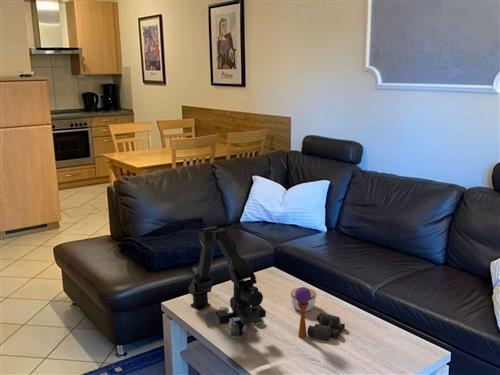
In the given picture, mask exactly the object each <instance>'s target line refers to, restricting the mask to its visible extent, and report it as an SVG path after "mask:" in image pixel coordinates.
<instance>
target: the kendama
mask: <svg viewBox="0 0 500 375" xmlns="http://www.w3.org/2000/svg"><path fill="white" fill-rule="evenodd" d="M297 288H298V289H297V290H296V292H295V297H296V300H297V301H298V302H297V303H298V306H299V308H300V310H301V311H300V317H299V319H300V320H299V321H300V322H299V328H298V335H297V336H298V338H299V339H306V338H308V335H307V325H306V316H305V312H306V311H305V309H306V308H307V306H308V304H309V303H308V301H309V300H310V298H311V292H310V290H309V289H310V288H309V289H307V288H308V287H305V286H300V287H297ZM304 311H305V312H304Z"/></svg>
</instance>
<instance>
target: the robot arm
mask: <svg viewBox="0 0 500 375" xmlns="http://www.w3.org/2000/svg"><path fill="white" fill-rule="evenodd" d="M198 240H199V242H200V243H201V251H200V257H199V264H198V270H197V273H196V274H195V275H194V276H193V277H192V281H191V283H190V285H189V286H188V293H189V294H190V295H191V296H192V303H191V304H190V306H191V307H192V308H194V309H197V310H199V311H201V310H202V309H205V308H208V307H210V306H211V303H210V302H209V297H208V293H211V292H212V289H213V283H214V281H213V279H212V278H211V276H210V272H211V268H212V262H213V256H214V249H215V248H216V246H217V245H218V248H219V250H220V251H221V253H222V254H223V256H224V258H225V260H226V261H227V262H226V263H228V272H229V275H230V277H231V280H230V281H231V283H233V296H232V300H233V307H232V310H233V312H232V313H227V312H226V311H225V310H223V311H216V313H215V319H214V320H216V321H217V322H218V323H217V322H216V321H215V322H216V323H217V324H219V325H225V324H226V325H229V322H230V318H231V319H232V320H233V322H234V323H236V326H237V333H238V336H242V329H243V327H244V325H245V324H247V323H253V322H254V319H257V318H266V316H267V311H266V309H265V308H264V307H263V306H262V305H261V304H262V302H263V299H264V296H263V293H262V292H261V291H260V290H259V287H257V286H255V284H257V277H256V275H255V272H254V270H253V268H252V266H251V265H250V263H249V262H248V260H247V259H246V258H243V257H242V256H240V255H239V252H238V251H237V249H236V248H235V245H234V244H233V243H232V241H231V239H230V237H229V236H228V232H227V230H226V229H223V228H218V226H209V227H204V228H201V229H200V230H199V233H198Z"/></svg>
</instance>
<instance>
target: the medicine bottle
mask: <svg viewBox="0 0 500 375" xmlns="http://www.w3.org/2000/svg"><path fill="white" fill-rule="evenodd" d="M232 297H233V296H232ZM232 297H230V299H229V305H230V308H228V309H229V312H228V313H232V312H233V310H232V307H233V300H232ZM232 322H233V320H232V319H231V318H230V322H229V323H228V328H229V329H230V330H231V323H232ZM249 325H250V324H249V323H247V324H245V325H244V327H243V328H244V329H245V330H247V329H248V326H249Z"/></svg>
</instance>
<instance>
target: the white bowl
mask: <svg viewBox="0 0 500 375" xmlns="http://www.w3.org/2000/svg"><path fill="white" fill-rule="evenodd" d="M298 288H299V287H297V288H294V289H292V290H291V291H290V297H291V298H290V300H291V304H292V307H293V308H294V309H295V310H296V311H298V312H301V310H300V308H299V306H298V303H297V302H298V301H297V300H296V297H295V292H296V290H297V289H298ZM306 288H307V289H309V290H310V292H311V298H310V300H309V301H308V303H309V304H308V306H307V308H306V309H305V311H304V313H305V312H309V311H311V310H312V309H313V308H314V307H315V306H316V299H317V298H316V297H317V292H316V291H315V290H314V289H313V288H309V287H306Z"/></svg>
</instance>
